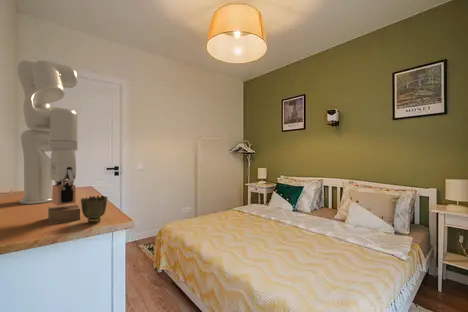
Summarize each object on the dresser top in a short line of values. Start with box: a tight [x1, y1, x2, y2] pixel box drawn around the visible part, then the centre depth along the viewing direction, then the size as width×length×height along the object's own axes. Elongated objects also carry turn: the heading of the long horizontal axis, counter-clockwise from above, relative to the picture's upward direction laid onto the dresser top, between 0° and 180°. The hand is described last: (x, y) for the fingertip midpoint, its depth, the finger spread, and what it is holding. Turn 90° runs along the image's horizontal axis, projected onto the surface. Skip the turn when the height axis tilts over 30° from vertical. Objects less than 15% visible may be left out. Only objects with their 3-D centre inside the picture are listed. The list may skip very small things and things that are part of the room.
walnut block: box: [47, 203, 81, 225], centre depth 79 cm, size 8×8×4 cm
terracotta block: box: [52, 184, 76, 206], centre depth 79 cm, size 5×5×6 cm
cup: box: [80, 195, 108, 224], centre depth 76 cm, size 8×7×8 cm
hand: (64, 200), depth 79 cm, fingers closed on terracotta block, 5 cm apart
